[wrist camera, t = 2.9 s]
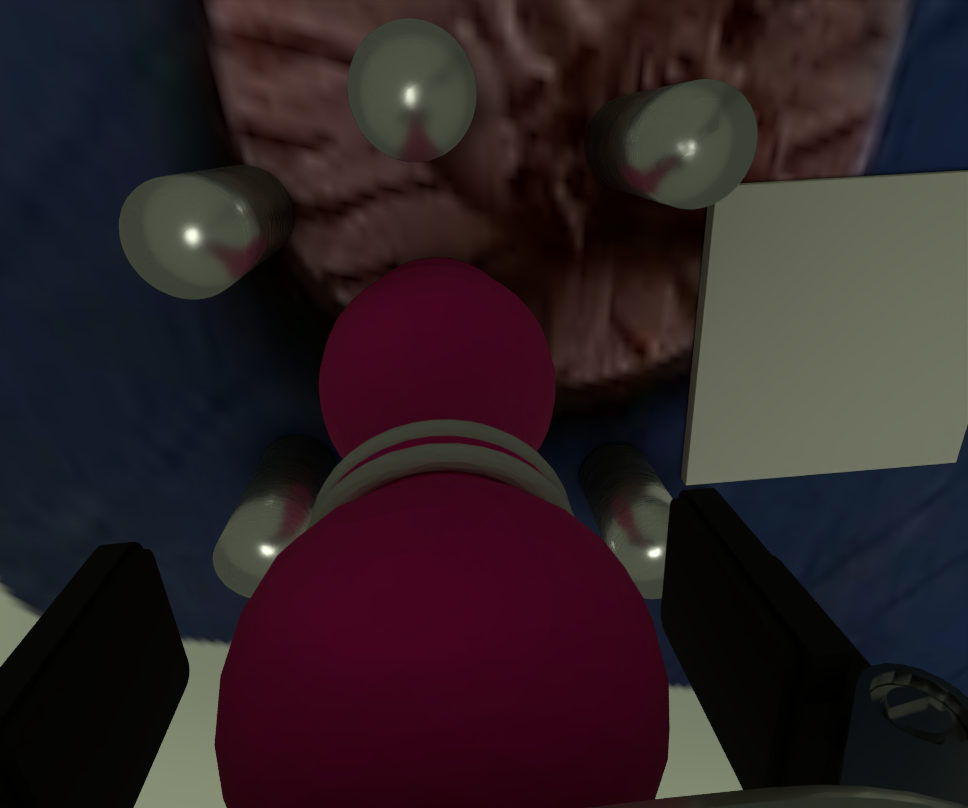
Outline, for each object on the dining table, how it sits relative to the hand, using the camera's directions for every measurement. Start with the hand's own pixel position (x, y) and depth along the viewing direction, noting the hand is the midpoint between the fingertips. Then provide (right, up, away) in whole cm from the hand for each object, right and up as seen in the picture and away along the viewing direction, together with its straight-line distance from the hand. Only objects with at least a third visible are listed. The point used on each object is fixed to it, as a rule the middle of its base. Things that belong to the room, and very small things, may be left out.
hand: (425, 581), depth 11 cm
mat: (+15, +6, +13) cm, 21 cm away
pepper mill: (-1, +6, +12) cm, 13 cm away
